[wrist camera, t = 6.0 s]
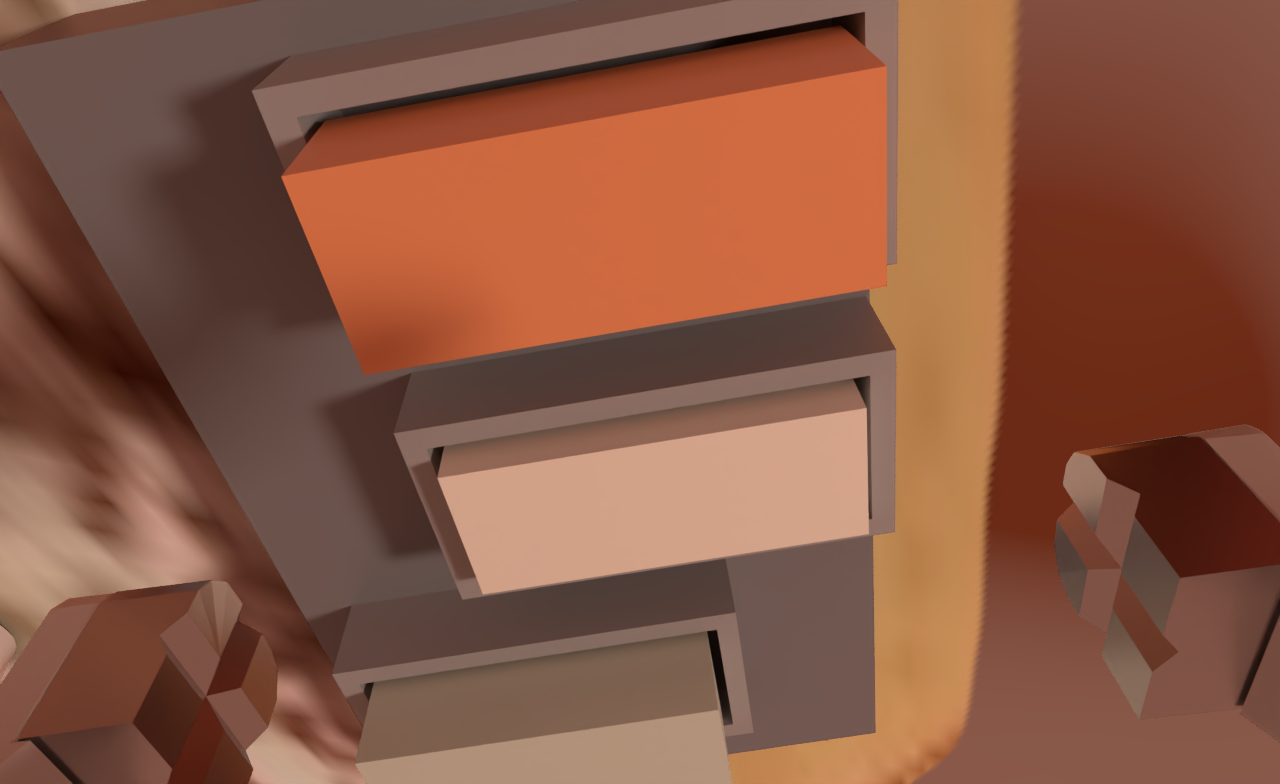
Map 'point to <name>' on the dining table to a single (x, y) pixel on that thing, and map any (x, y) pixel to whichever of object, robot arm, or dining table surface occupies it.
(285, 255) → the panel
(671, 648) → the bar sage
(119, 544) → the dining table surface
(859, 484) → the bar ivory
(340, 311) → the bar orange
